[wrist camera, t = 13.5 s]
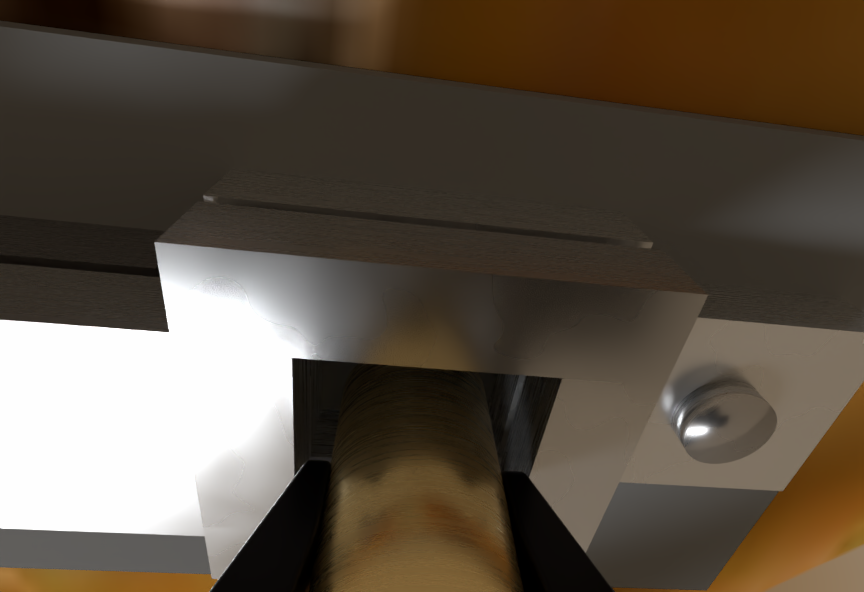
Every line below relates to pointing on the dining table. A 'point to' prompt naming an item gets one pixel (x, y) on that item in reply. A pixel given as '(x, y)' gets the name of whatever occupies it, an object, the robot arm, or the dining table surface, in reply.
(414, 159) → the gray rectangular board
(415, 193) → the grey slotted plate
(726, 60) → the dining table surface
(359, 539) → the brass pin
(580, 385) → the metal latch plate
